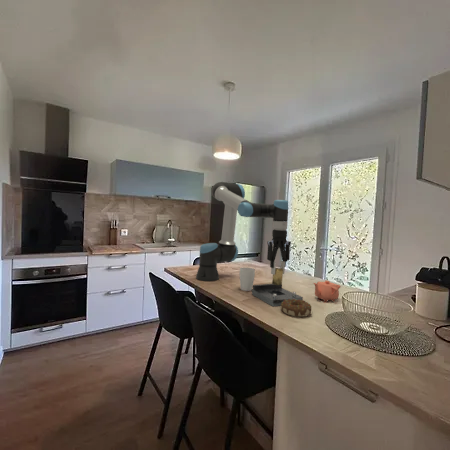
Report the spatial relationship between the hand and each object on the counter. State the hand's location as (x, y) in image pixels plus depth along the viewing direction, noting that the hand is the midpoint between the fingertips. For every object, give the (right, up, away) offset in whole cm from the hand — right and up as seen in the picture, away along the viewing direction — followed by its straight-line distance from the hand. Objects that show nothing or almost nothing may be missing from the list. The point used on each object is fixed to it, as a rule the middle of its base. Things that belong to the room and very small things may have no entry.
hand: (277, 273), depth 140 cm
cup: (-15, -12, +16) cm, 25 cm away
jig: (-1, -13, +1) cm, 13 cm away
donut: (+4, -15, -18) cm, 24 cm away
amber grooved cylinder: (0, -5, 0) cm, 5 cm away
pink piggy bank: (+27, -15, +3) cm, 31 cm away
